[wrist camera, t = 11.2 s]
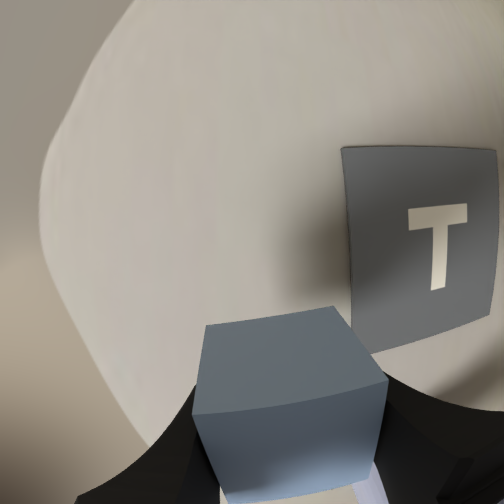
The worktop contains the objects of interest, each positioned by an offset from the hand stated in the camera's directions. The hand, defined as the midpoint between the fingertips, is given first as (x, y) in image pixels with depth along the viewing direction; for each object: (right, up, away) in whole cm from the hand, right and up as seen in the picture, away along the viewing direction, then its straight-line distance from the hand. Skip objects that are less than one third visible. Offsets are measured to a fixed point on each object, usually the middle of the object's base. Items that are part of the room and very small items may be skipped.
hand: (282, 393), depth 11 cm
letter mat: (+12, +6, +8) cm, 15 cm away
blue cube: (0, 0, +2) cm, 2 cm away
